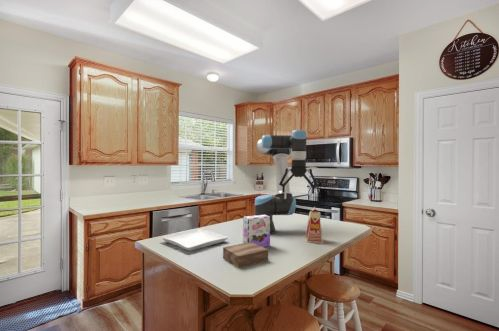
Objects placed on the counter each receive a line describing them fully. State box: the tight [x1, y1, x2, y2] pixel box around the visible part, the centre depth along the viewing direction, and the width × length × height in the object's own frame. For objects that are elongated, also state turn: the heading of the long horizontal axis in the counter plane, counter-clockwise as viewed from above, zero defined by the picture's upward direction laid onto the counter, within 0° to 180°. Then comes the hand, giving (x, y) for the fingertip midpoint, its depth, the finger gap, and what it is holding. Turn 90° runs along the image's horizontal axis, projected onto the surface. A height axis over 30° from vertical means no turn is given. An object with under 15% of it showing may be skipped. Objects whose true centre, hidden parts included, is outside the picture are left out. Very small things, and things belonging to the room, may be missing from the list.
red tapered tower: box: [305, 206, 324, 244], centre depth 154 cm, size 9×9×20 cm
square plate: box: [160, 228, 229, 251], centre depth 149 cm, size 27×27×4 cm
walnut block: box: [222, 242, 269, 269], centre depth 124 cm, size 14×16×5 cm
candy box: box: [242, 215, 271, 248], centre depth 142 cm, size 14×6×16 cm, turn 117°
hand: (298, 199), depth 141 cm, fingers open, 13 cm apart
